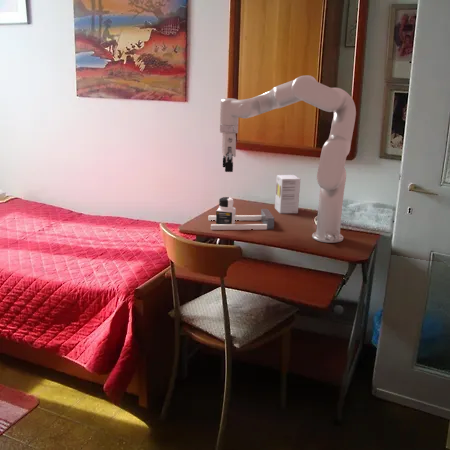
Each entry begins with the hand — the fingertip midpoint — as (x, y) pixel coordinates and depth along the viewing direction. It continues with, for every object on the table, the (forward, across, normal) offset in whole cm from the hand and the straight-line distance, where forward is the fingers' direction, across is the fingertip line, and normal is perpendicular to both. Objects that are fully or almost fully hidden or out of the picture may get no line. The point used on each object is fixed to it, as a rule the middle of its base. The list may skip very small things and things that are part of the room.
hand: (227, 169), depth 228 cm
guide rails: (+24, 0, -5) cm, 25 cm away
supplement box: (+25, +22, -32) cm, 46 cm away
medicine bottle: (+25, 0, 0) cm, 25 cm away
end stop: (+24, 0, -18) cm, 31 cm away
